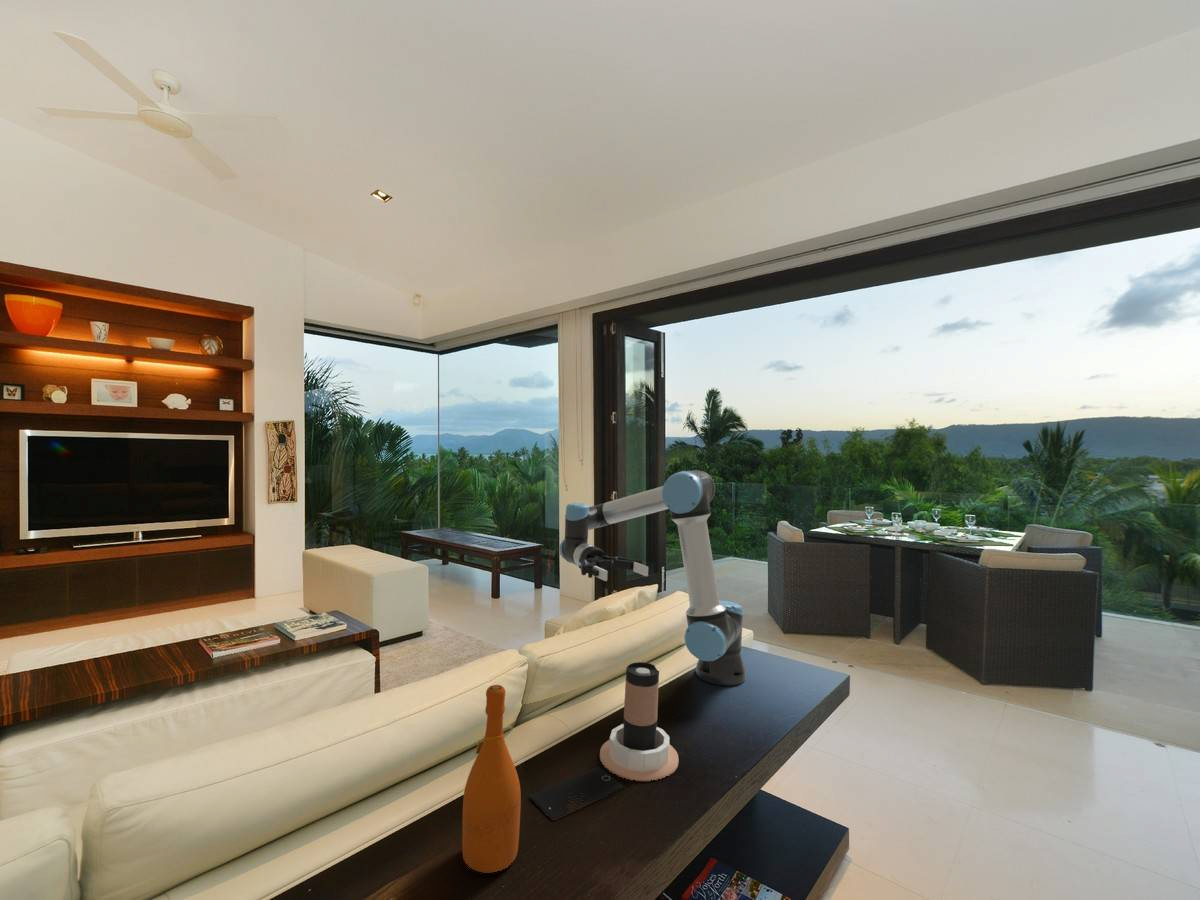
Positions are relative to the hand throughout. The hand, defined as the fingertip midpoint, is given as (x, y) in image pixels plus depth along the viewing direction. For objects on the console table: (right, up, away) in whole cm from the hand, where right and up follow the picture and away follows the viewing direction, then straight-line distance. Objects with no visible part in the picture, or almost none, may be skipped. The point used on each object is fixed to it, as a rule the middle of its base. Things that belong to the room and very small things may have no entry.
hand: (627, 573), depth 163 cm
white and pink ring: (+1, -36, -29) cm, 46 cm away
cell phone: (-12, -37, -43) cm, 58 cm away
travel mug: (+1, -35, -29) cm, 46 cm away
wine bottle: (-27, -36, -62) cm, 76 cm away
